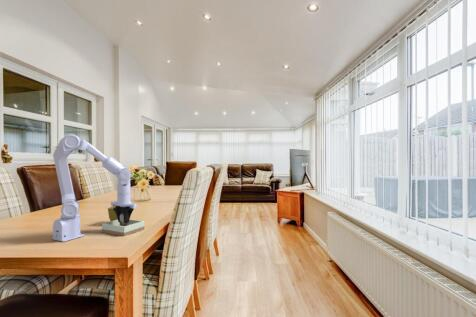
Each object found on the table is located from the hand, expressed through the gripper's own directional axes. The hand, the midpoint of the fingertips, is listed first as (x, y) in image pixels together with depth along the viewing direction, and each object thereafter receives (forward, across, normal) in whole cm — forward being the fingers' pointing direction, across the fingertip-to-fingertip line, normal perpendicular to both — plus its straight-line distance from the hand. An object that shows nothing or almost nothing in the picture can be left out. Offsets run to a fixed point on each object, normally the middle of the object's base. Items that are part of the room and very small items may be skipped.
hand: (123, 222), depth 123 cm
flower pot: (+4, +12, -9) cm, 16 cm away
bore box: (+4, 0, 0) cm, 4 cm away
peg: (+2, 0, 0) cm, 2 cm away
